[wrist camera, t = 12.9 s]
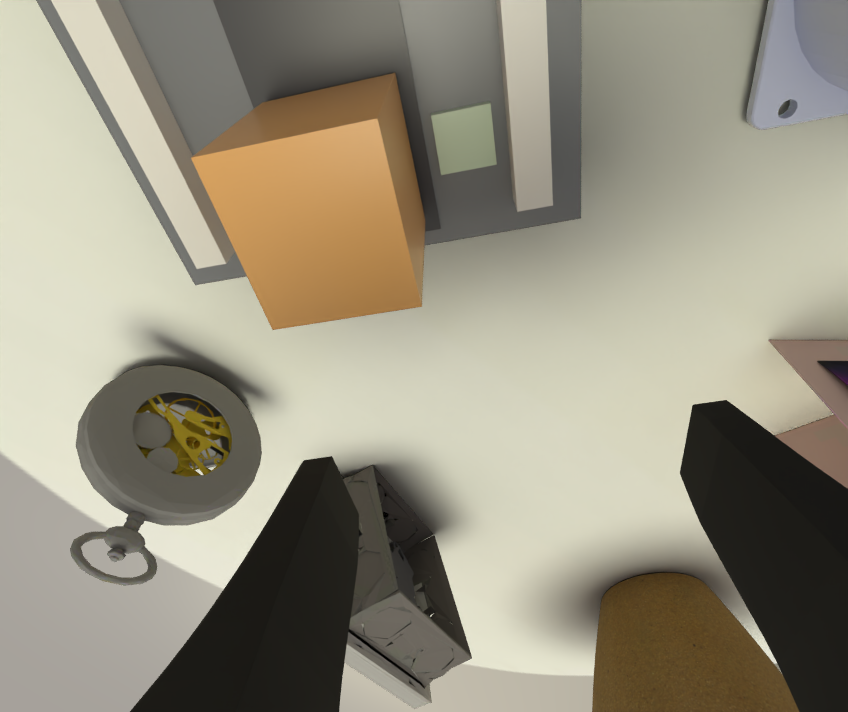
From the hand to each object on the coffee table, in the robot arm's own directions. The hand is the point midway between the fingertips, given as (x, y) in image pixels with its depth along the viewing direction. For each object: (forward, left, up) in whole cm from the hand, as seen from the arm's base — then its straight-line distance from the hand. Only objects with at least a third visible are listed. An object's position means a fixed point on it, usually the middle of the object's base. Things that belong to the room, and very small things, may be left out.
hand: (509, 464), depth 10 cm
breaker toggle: (+3, -4, -8) cm, 9 cm away
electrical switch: (+7, +16, -11) cm, 20 cm away
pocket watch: (+14, +6, -11) cm, 19 cm away
